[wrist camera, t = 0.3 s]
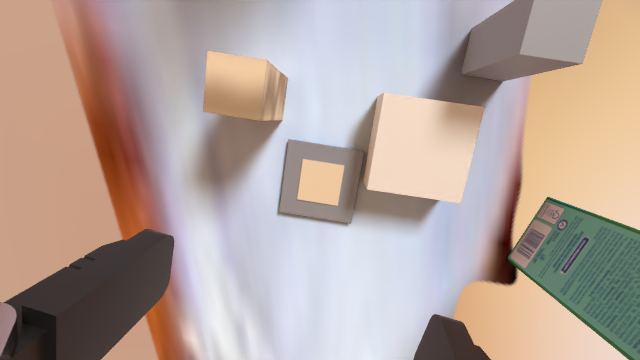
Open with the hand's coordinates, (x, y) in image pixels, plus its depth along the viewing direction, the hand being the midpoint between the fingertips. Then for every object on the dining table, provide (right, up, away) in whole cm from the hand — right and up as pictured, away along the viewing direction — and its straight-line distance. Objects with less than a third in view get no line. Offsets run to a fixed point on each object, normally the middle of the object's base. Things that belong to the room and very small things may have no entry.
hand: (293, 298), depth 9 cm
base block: (+12, +8, +27) cm, 30 cm away
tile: (+1, +3, +28) cm, 28 cm away
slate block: (+19, +17, +24) cm, 35 cm away
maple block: (-6, +13, +26) cm, 30 cm away
